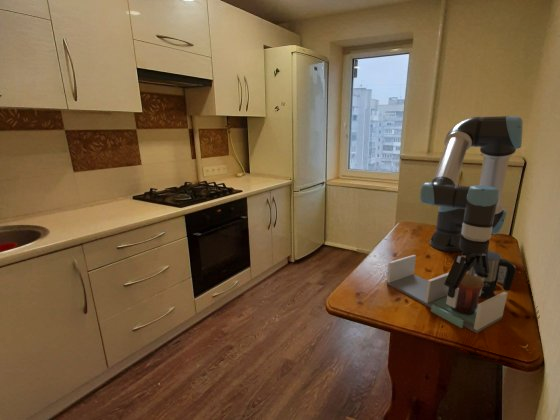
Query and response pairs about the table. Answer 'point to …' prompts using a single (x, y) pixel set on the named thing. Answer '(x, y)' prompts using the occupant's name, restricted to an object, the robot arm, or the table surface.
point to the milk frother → (495, 274)
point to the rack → (442, 296)
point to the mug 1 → (468, 294)
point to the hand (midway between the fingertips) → (463, 299)
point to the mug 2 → (502, 274)
